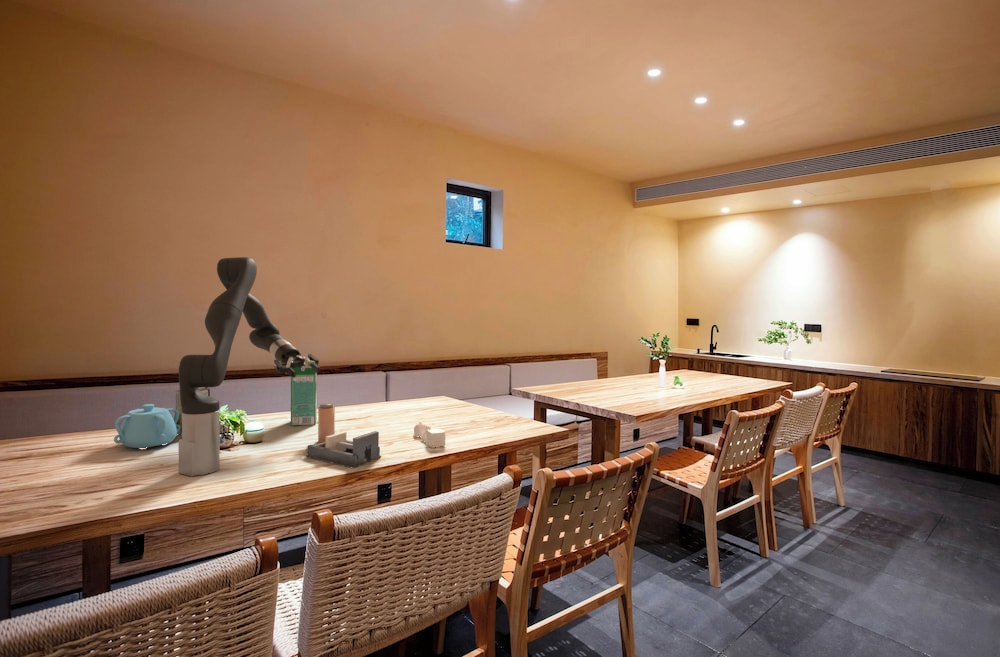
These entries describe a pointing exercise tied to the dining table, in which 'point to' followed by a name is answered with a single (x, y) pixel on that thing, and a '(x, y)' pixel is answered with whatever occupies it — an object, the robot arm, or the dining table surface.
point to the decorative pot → (147, 427)
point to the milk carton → (304, 396)
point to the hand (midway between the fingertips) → (306, 372)
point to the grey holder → (349, 451)
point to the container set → (430, 435)
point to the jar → (326, 421)
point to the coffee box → (179, 408)
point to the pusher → (338, 442)
